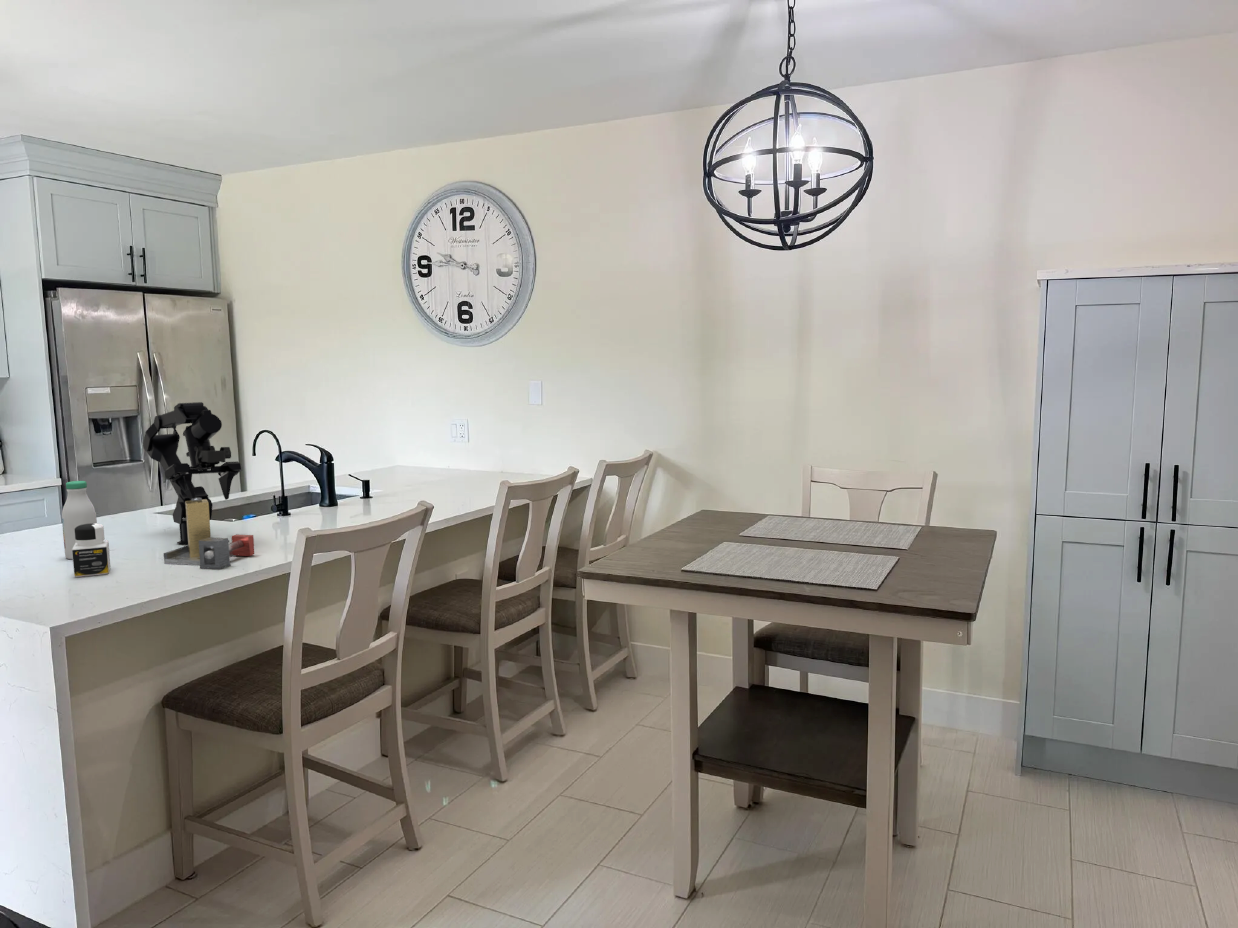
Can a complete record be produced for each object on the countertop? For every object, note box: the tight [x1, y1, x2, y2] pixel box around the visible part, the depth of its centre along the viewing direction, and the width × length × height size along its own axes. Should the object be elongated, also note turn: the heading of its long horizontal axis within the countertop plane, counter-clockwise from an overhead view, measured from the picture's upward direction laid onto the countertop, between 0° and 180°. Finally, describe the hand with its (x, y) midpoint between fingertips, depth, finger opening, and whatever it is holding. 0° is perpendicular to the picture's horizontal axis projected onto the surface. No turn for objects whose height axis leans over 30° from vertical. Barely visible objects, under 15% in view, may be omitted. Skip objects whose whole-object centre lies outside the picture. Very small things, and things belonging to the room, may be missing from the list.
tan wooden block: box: [185, 498, 212, 557], centre depth 221 cm, size 5×5×15 cm
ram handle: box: [204, 534, 255, 559], centre depth 219 cm, size 5×15×5 cm, turn 169°
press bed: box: [163, 544, 234, 566], centre depth 222 cm, size 12×12×3 cm
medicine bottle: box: [72, 522, 111, 578], centre depth 208 cm, size 7×7×12 cm
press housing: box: [199, 536, 231, 570], centre depth 214 cm, size 6×4×7 cm
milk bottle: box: [61, 480, 98, 560], centre depth 224 cm, size 8×8×20 cm
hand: (210, 500), depth 230 cm, fingers open, 9 cm apart
